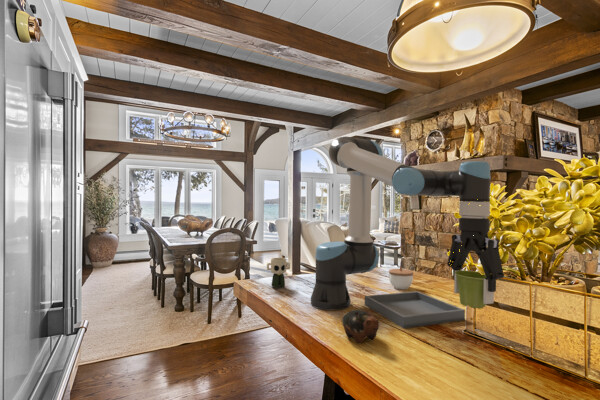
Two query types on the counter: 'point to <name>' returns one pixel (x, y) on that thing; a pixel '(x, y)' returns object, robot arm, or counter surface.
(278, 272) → the character mug
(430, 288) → the counter surface
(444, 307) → the walled tray
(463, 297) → the plant pot
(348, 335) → the decorative turtle
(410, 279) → the lidded jar
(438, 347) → the counter surface
